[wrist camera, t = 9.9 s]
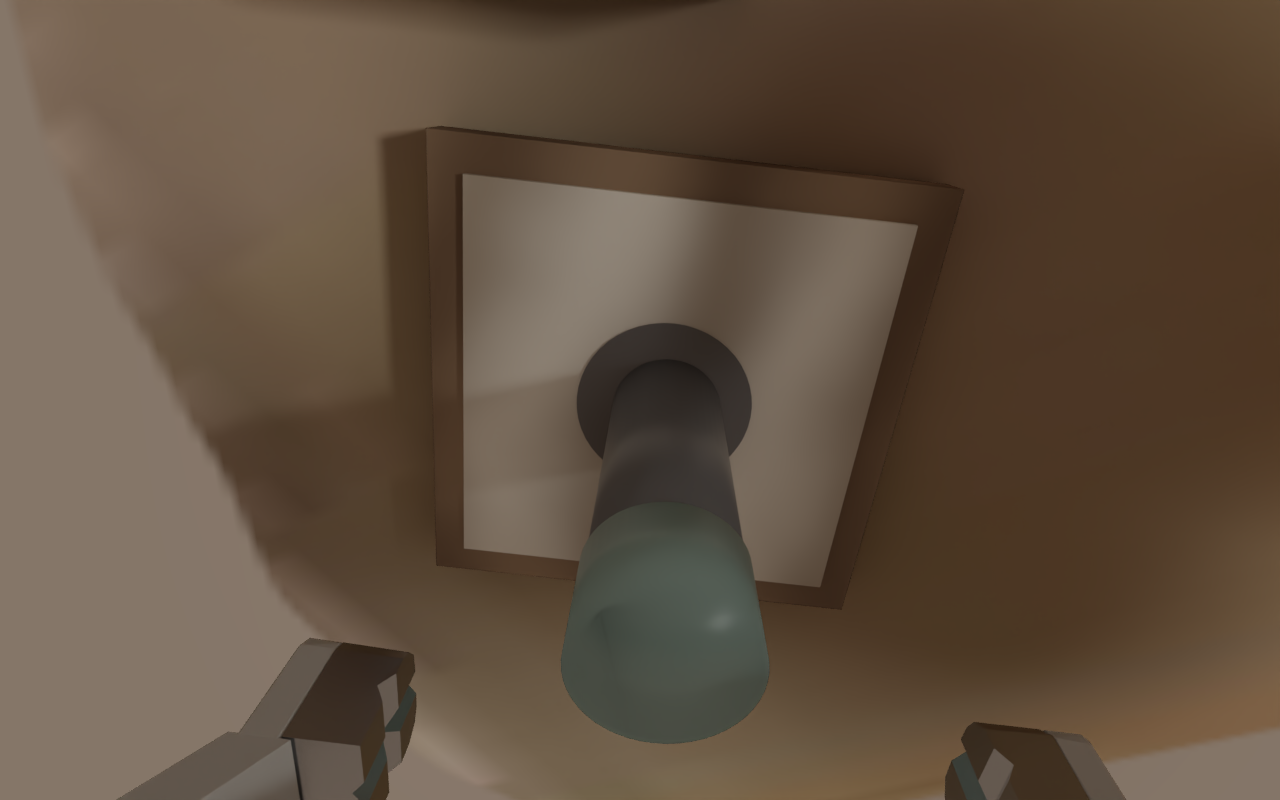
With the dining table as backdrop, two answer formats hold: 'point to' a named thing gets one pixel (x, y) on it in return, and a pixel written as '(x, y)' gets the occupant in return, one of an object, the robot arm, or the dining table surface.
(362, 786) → the robot arm
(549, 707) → the dining table surface
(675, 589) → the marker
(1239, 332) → the dining table surface
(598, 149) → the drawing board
